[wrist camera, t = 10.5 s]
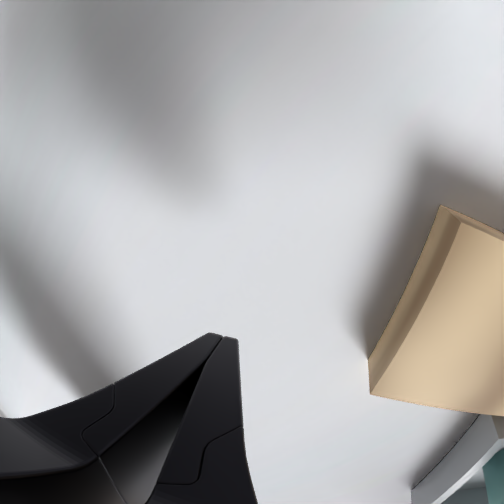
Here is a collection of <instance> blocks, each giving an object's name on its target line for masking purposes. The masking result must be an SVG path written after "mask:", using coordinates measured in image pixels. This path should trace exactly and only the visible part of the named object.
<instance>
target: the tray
mask: <svg viewBox="0 0 504 504" xmlns="http://www.w3.org/2000/svg"><path fill="white" fill-rule="evenodd" d="M502 449H504V416H495V415H486V414H480V415H479V416H478V418H477V419H476V420H475V422H474V423H473V424H472V426H471V427H470V428H469V429H468V431H467V432H466V433H465V434H464V435H463V437H462V438H461V439H460V440H459V441H458V443H457V444H456V445H455V446H454V447H453V448H452V450H451V451H450V452H449V453H448V454H447V455H446V456H445V457H444V458H443V460H442V461H441V462H440V463H439V464H438V465H437V466H436V467H435V468H434V469H433V470H432V471H431V472H430V473H429V474H428V475H427V476H426V477H425V478H424V479H423V480H422V481H421V482H420V483H419V484H418V485H417V486H416V487H415V488H414V489H413V490H412V491H411V501H412V504H489V502H488V496H487V490H486V485H485V479H484V474H483V469H482V467H483V466H484V465H485V464H486V463H487V462H488V461H489V460H490V459H491V458H492V456H493V455H494V454H495V453H497V452H498V451H500V450H502Z"/></svg>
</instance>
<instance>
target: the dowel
mask: <svg viewBox="0 0 504 504" xmlns="http://www.w3.org/2000/svg"><path fill="white" fill-rule="evenodd" d="M482 469H483V474H484V479H485V485H486V490H487V496H488V502H489V504H504V449H502V450H500V451H498V452H497V453H495V454H494V455H493V456H492V458H491V459H490V460H489V461H488V462H487V463H486V464H485V465H484V466H483V467H482Z"/></svg>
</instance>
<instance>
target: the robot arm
mask: <svg viewBox="0 0 504 504" xmlns="http://www.w3.org/2000/svg"><path fill="white" fill-rule="evenodd" d="M0 504H258V502H257V499H256V495H255V491H254V488H253V484H252V480H251V476H250V472H249V467H248V463H247V458H246V450H245V442H244V429H243V414H242V397H241V380H240V363H239V344H238V340H237V339H235V338H231V337H227V336H225V337H223V336H222V335H219V334H215V333H207V334H205V335H203V336H201V337H200V338H198V339H196V340H194V341H192V342H191V343H189V344H187V345H185V346H183V347H181V348H180V349H178V350H176V351H174V352H172V353H170V354H168V355H167V356H165V357H163V358H161V359H159V360H157V361H155V362H153V363H152V364H150V365H148V366H146V367H144V368H142V369H140V370H138V371H136V372H134V373H132V374H130V375H129V376H127V377H125V378H123V379H121V380H119V381H117V382H115V383H114V384H111V385H109V386H107V387H105V388H103V389H101V390H98V391H96V392H94V393H92V394H90V395H88V396H85V397H83V398H80V399H78V400H75V401H73V402H70V403H67V404H64V405H62V406H59V407H56V408H53V409H50V410H47V411H44V412H41V413H38V414H35V415H32V416H28V417H24V418H3V417H0Z"/></svg>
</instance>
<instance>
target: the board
mask: <svg viewBox="0 0 504 504" xmlns="http://www.w3.org/2000/svg"><path fill="white" fill-rule="evenodd" d="M368 369H369V386H370V394H371V395H375V396H379V397H384V398H389V399H393V400H398V401H403V402H408V403H414V404H419V405H425V406H430V407H436V408H442V409H449V410H455V411H462V412H470V413H478V414H486V415H495V416H504V233H502V232H500V231H498V230H496V229H494V228H492V227H490V226H488V225H486V224H483V223H481V222H479V221H477V220H475V219H472V218H470V217H468V216H466V215H463V214H461V213H459V212H456V211H454V210H452V209H449V208H447V207H445V206H442V205H440V207H439V209H438V212H437V215H436V217H435V220H434V223H433V225H432V228H431V231H430V233H429V236H428V238H427V241H426V243H425V245H424V248H423V250H422V253H421V255H420V257H419V260H418V262H417V264H416V267H415V269H414V271H413V273H412V275H411V278H410V280H409V282H408V284H407V286H406V288H405V291H404V293H403V295H402V297H401V299H400V301H399V303H398V305H397V307H396V309H395V311H394V313H393V315H392V317H391V319H390V321H389V323H388V325H387V326H386V328H385V330H384V332H383V334H382V336H381V338H380V339H379V341H378V343H377V345H376V347H375V348H374V350H373V352H372V354H371V355H370V357H369V359H368Z"/></svg>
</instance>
